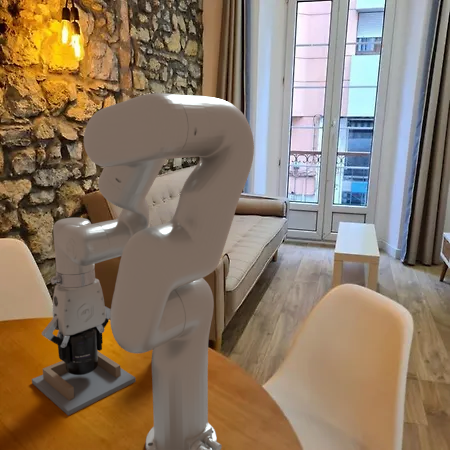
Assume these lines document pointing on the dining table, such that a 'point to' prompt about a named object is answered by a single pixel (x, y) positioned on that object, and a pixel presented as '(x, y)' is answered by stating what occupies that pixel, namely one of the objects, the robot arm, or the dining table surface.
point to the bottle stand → (82, 384)
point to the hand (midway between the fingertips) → (81, 354)
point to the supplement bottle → (83, 352)
